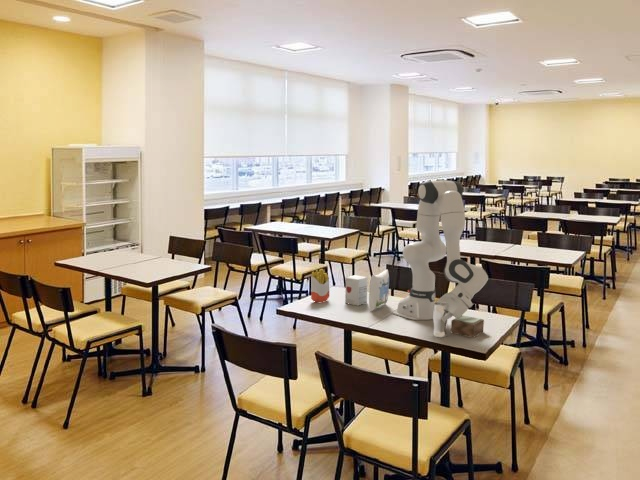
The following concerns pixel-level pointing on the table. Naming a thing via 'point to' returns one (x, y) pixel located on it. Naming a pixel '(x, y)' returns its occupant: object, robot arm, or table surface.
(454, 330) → the brown green square block
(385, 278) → the pouch
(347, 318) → the table surface
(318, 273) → the french fries container
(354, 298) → the supplement box
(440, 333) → the beer glass
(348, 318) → the table surface
